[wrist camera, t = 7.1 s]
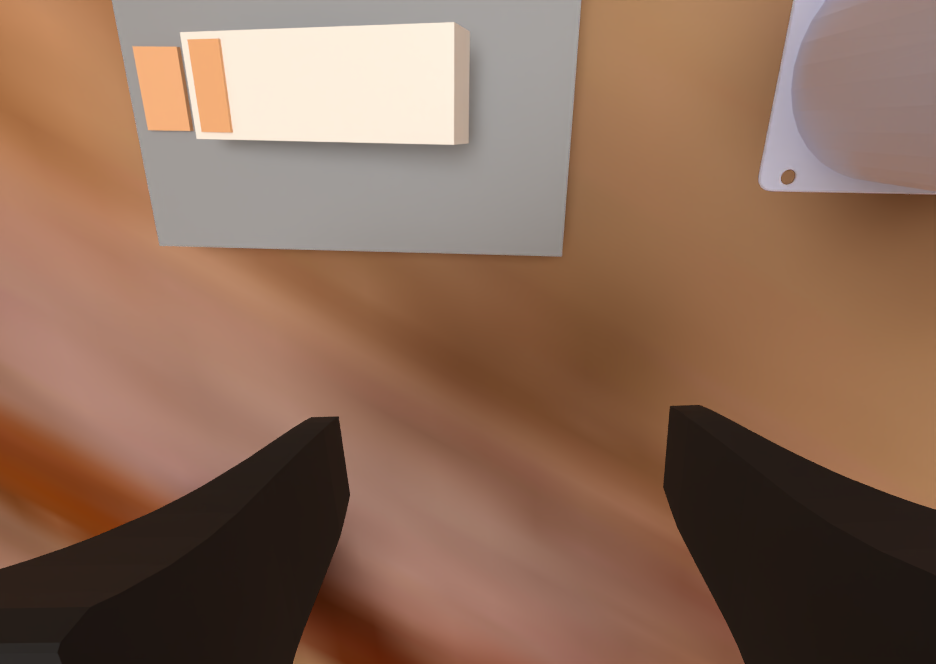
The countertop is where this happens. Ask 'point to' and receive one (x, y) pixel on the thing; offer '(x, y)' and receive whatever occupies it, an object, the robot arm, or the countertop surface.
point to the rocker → (331, 83)
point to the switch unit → (364, 164)
